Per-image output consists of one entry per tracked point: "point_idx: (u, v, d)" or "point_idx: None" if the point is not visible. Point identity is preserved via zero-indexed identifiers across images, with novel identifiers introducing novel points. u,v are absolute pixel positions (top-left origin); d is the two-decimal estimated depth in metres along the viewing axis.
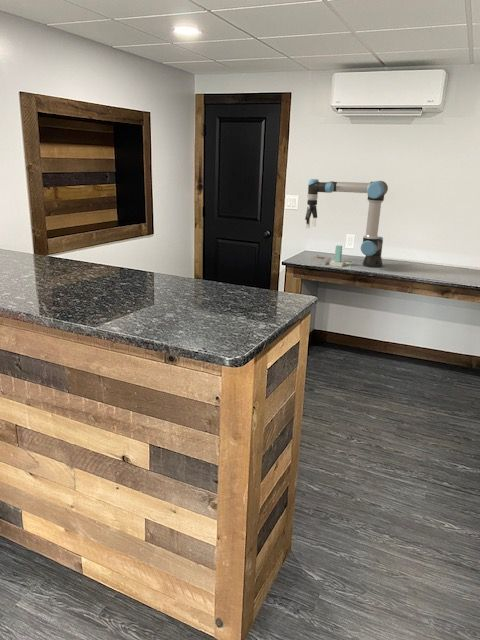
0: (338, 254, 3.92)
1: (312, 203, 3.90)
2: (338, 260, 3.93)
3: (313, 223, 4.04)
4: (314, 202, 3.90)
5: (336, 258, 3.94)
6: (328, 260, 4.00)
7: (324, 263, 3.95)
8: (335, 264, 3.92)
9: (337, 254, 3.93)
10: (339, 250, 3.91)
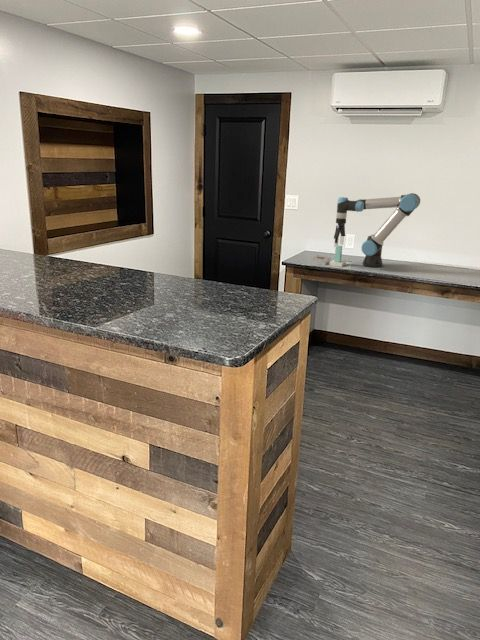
0: (338, 254, 3.92)
1: (341, 222, 3.83)
2: (338, 260, 3.93)
3: (341, 241, 3.97)
4: (343, 221, 3.83)
5: (336, 258, 3.94)
6: (328, 260, 4.00)
7: (324, 263, 3.95)
8: (335, 264, 3.92)
9: (337, 254, 3.93)
10: (339, 250, 3.91)
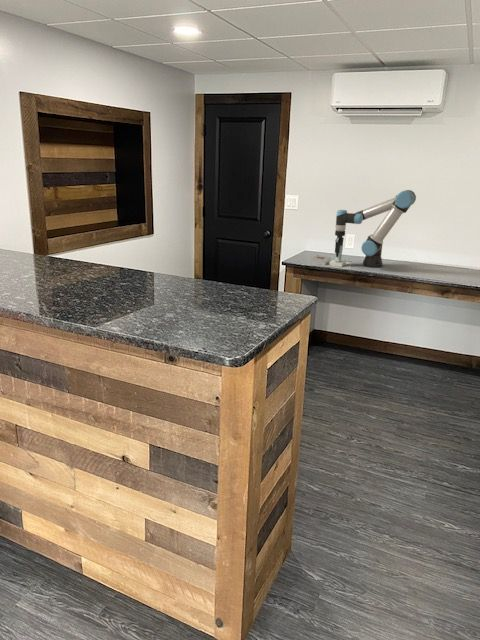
0: None
1: (340, 234, 3.85)
2: None
3: None
4: (342, 233, 3.85)
5: None
6: (328, 260, 4.00)
7: (324, 263, 3.95)
8: (335, 264, 3.92)
9: None
10: (339, 250, 3.91)
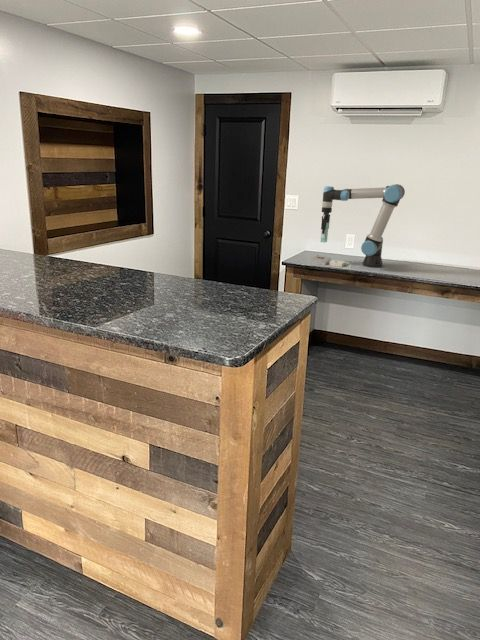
0: None
1: (327, 211, 3.86)
2: None
3: None
4: (329, 210, 3.86)
5: None
6: (328, 260, 4.00)
7: (324, 263, 3.95)
8: (335, 264, 3.92)
9: None
10: None
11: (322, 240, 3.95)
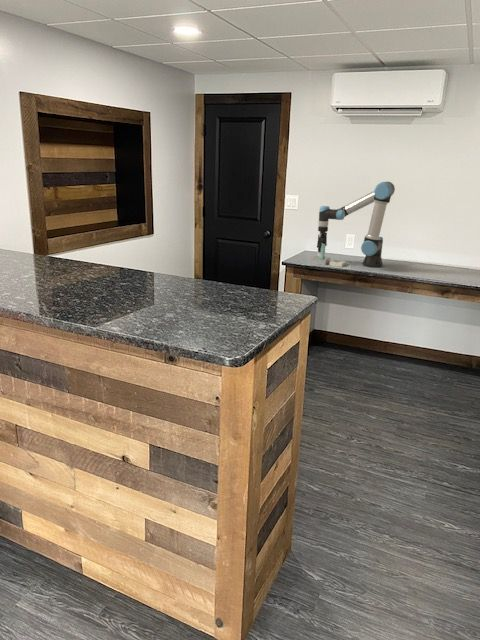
0: (321, 252, 3.98)
1: (323, 230, 3.91)
2: (321, 258, 4.00)
3: None
4: (325, 229, 3.91)
5: (319, 256, 4.00)
6: (328, 260, 4.00)
7: (324, 263, 3.95)
8: (335, 264, 3.92)
9: None
10: (322, 248, 3.97)
11: None
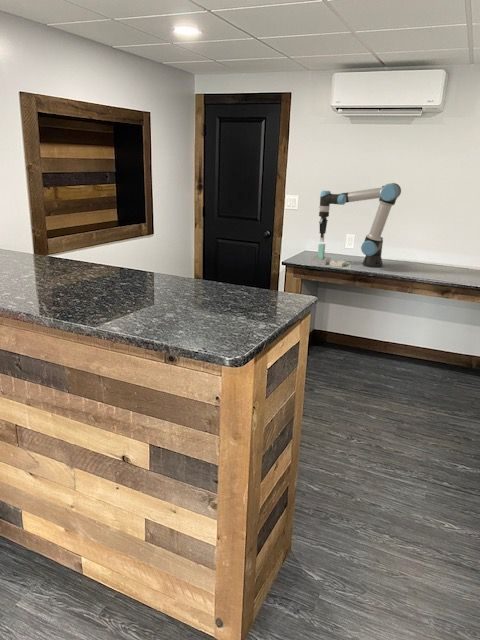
0: (321, 252, 3.98)
1: (324, 215, 3.87)
2: (321, 258, 4.00)
3: None
4: (326, 214, 3.87)
5: (319, 256, 4.00)
6: (328, 260, 4.00)
7: (324, 263, 3.95)
8: (335, 264, 3.92)
9: (320, 252, 3.99)
10: (322, 248, 3.97)
11: None
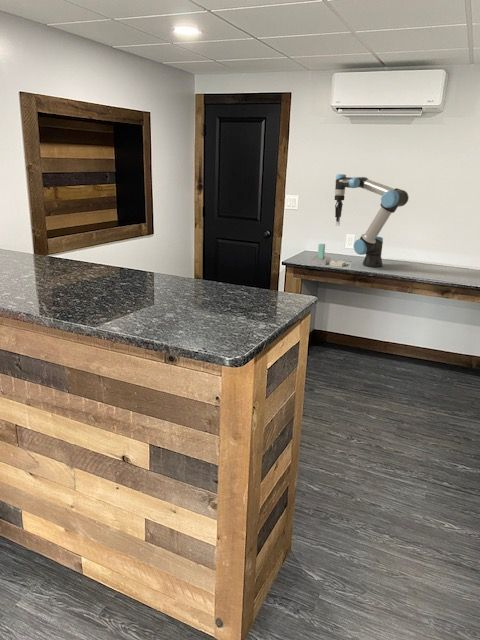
0: (321, 252, 3.98)
1: (340, 198, 3.90)
2: (321, 258, 4.00)
3: None
4: (342, 197, 3.90)
5: (319, 256, 4.00)
6: (328, 260, 4.00)
7: (324, 263, 3.95)
8: (335, 264, 3.92)
9: (320, 252, 3.99)
10: (322, 248, 3.97)
11: None
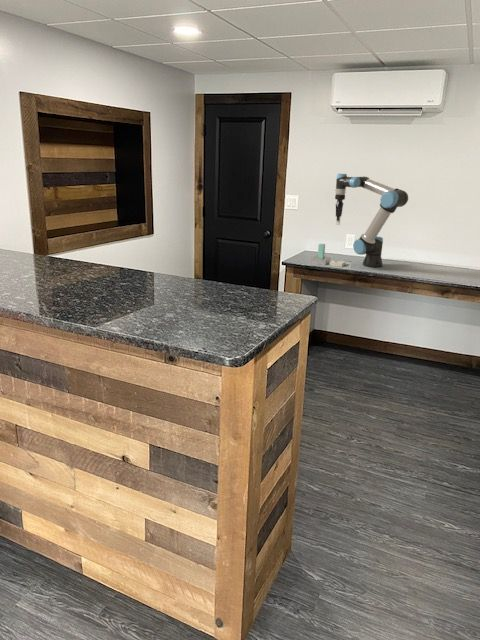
0: (321, 252, 3.98)
1: (340, 198, 3.90)
2: (321, 258, 4.00)
3: None
4: (342, 197, 3.90)
5: (319, 256, 4.00)
6: (328, 260, 4.00)
7: (324, 263, 3.95)
8: (335, 264, 3.92)
9: (320, 252, 3.99)
10: (322, 248, 3.97)
11: None
